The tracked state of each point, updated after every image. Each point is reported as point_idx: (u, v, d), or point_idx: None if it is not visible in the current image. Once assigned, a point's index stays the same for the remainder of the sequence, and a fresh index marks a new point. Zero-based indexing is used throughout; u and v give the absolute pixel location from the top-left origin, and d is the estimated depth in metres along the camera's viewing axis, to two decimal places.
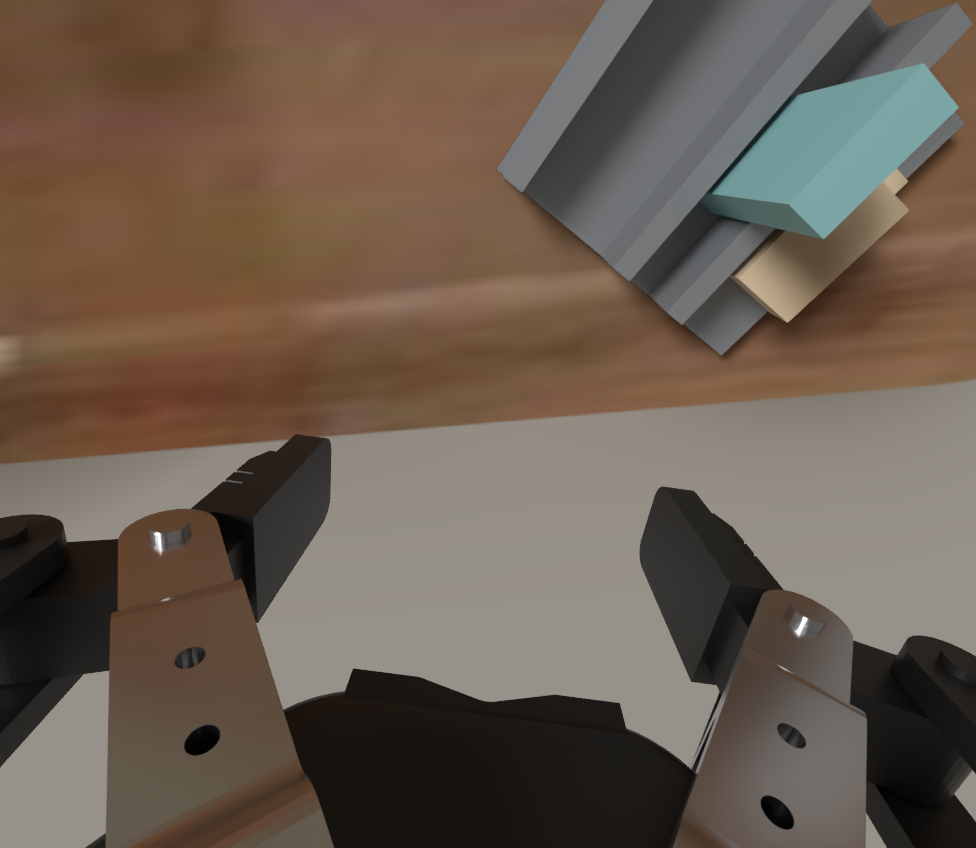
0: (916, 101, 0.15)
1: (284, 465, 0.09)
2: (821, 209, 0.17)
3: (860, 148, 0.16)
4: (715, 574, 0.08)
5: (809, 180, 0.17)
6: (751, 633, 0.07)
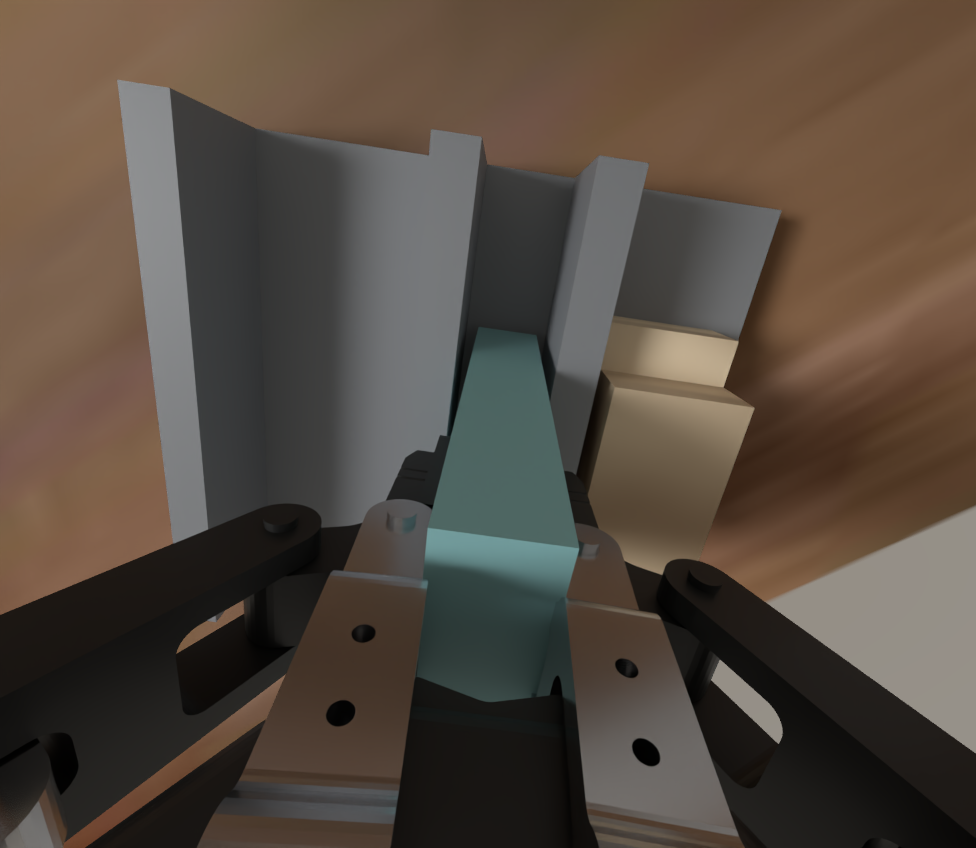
0: (479, 574, 0.06)
1: None
2: None
3: (446, 662, 0.07)
4: None
5: None
6: None
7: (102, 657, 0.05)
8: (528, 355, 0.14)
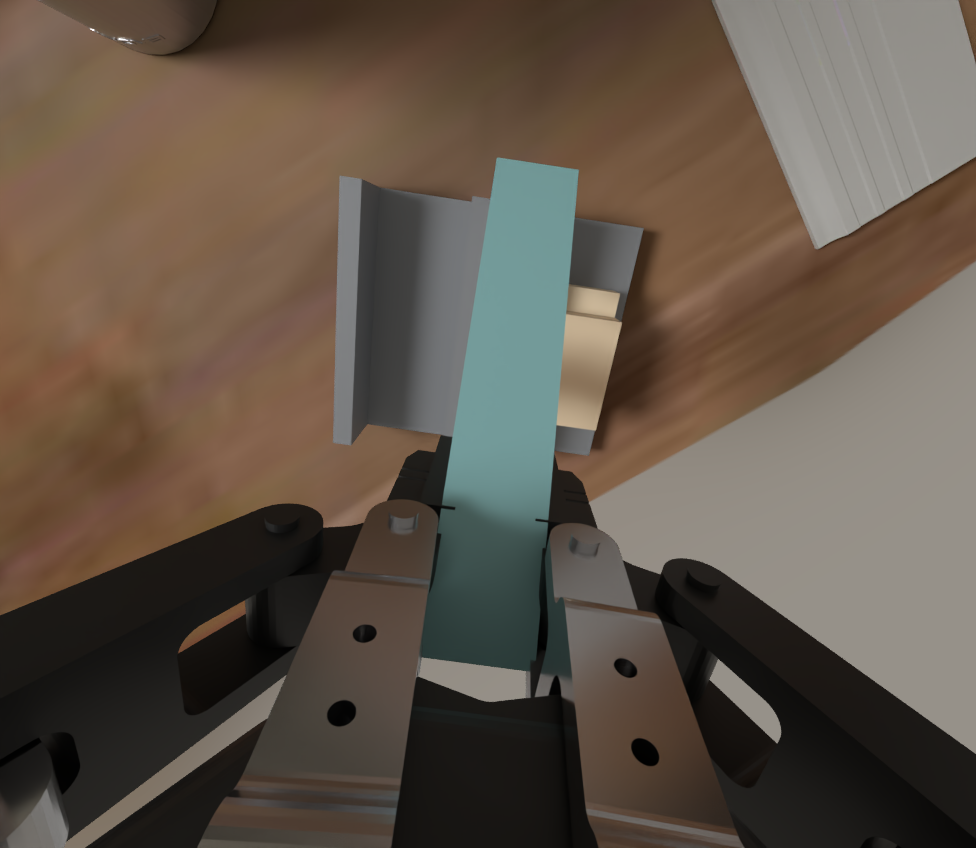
0: None
1: None
2: None
3: None
4: None
5: None
6: (555, 577, 0.07)
7: (104, 657, 0.05)
8: (555, 256, 0.11)
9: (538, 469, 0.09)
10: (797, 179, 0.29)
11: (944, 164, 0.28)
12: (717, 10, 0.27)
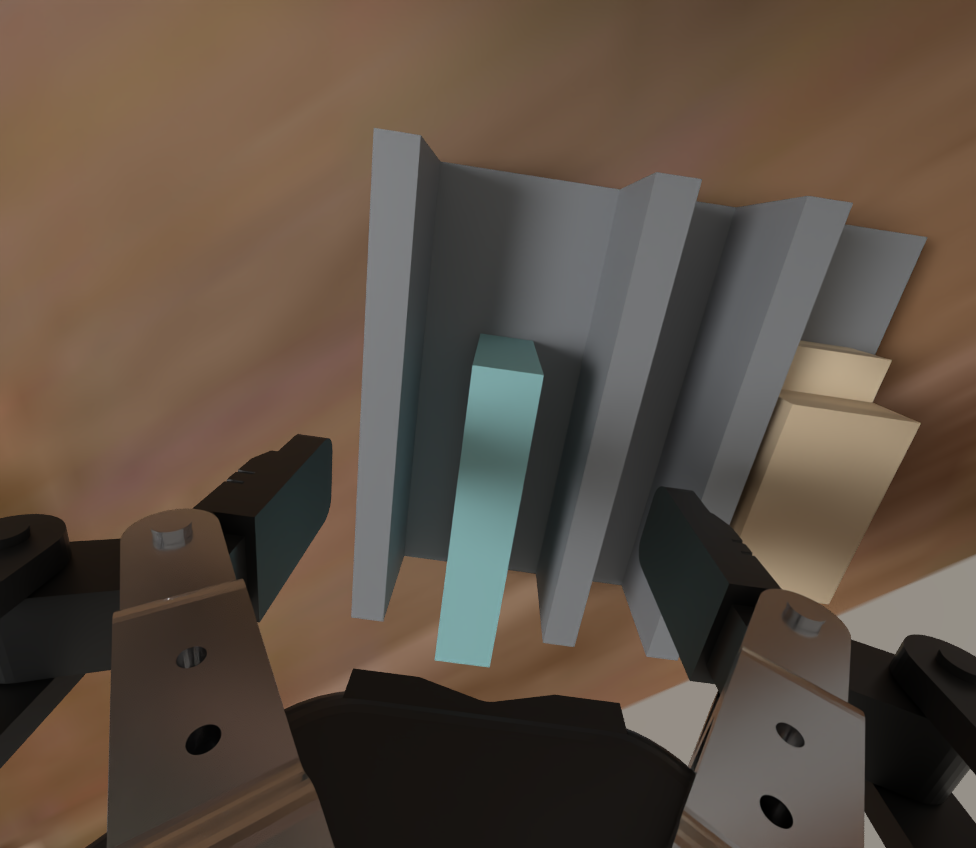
0: None
1: (285, 465, 0.09)
2: None
3: None
4: (713, 572, 0.08)
5: None
6: (749, 632, 0.07)
7: None
8: (516, 457, 0.14)
9: (495, 589, 0.16)
10: None
11: None
12: None
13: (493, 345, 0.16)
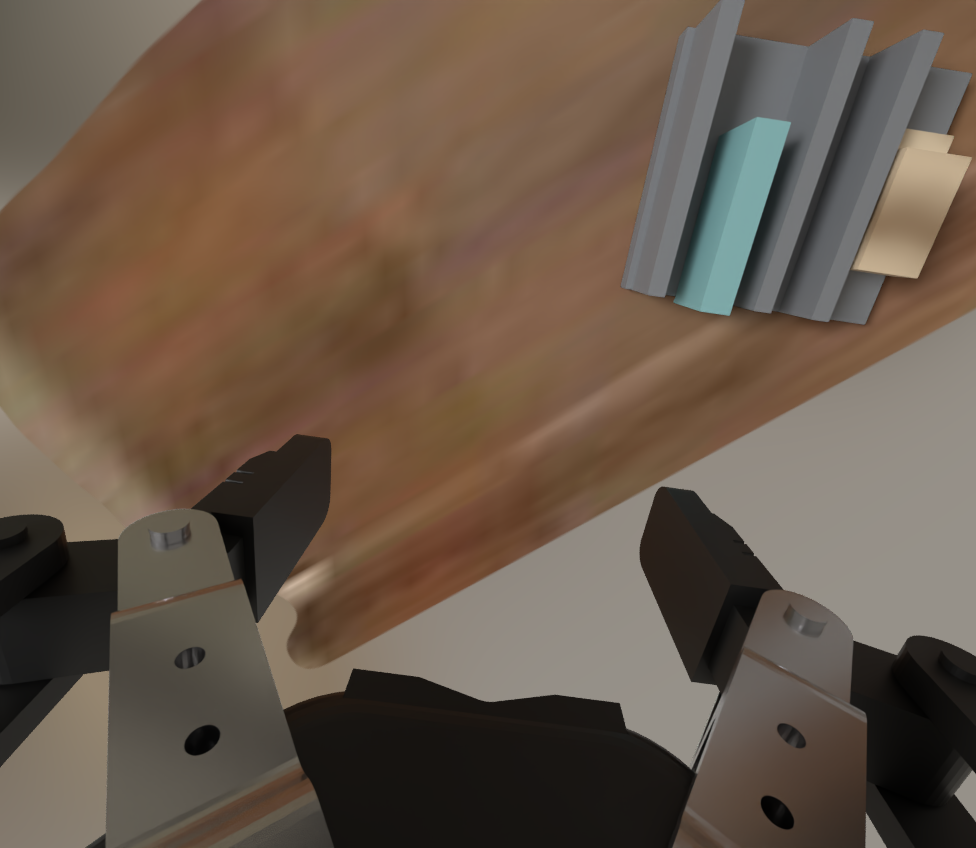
0: None
1: (284, 465, 0.09)
2: None
3: None
4: (715, 573, 0.08)
5: (678, 302, 0.34)
6: (751, 633, 0.07)
7: None
8: (769, 172, 0.28)
9: (743, 259, 0.29)
10: None
11: None
12: None
13: None
